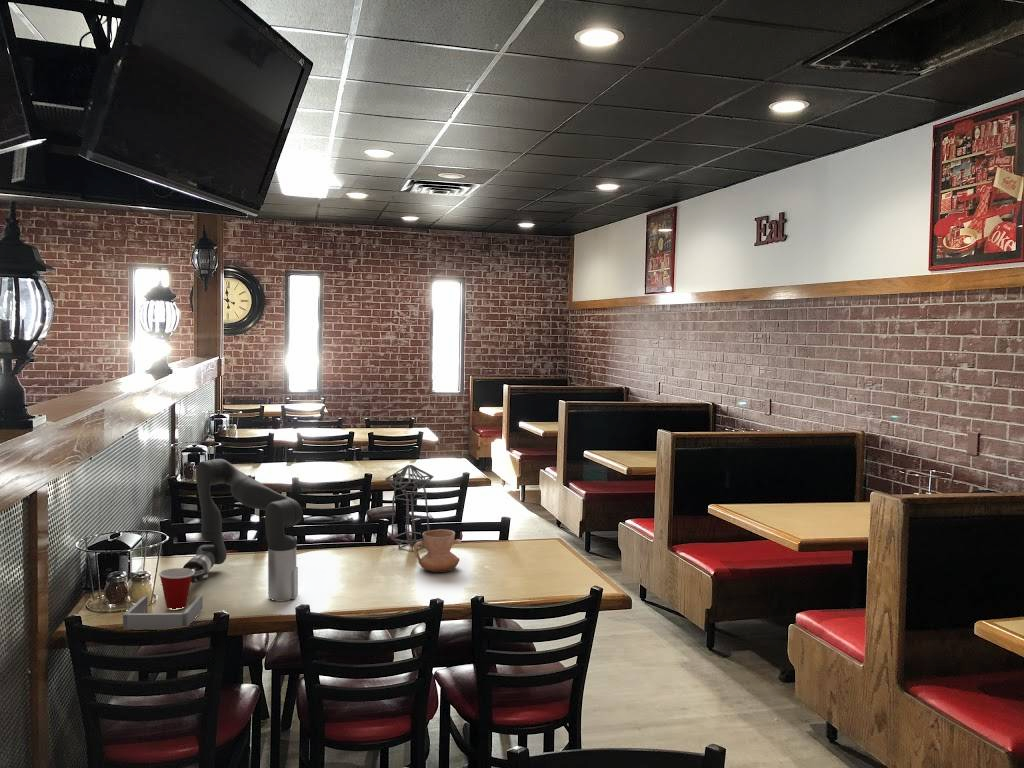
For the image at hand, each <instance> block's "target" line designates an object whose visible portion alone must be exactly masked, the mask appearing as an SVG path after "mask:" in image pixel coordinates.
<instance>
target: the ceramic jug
mask: <svg viewBox="0 0 1024 768" xmlns="http://www.w3.org/2000/svg"><path fill="white" fill-rule="evenodd" d="M422 533H423V535H422V537H423V538H422V539H424V540H421V541H418V542H416V544H415V543H414V544H415V545H413V546H414V547H413V550H414V551H413V554H414V555H415V557H416V559H417V561H418V564H419V565H420V567H421V568H423V570H425V571H428V572H432V573H445V572H449V571H452V570H454V569H455V568H456V567H457V566H458V564H459V562H460V558H459V557H457V555H455V554H454V553H452V552H451V550H452V547H453V546H454V545H455V544H462V540H461V539H459V538H458V539H455V537H456V532H455V531H454V530H450V529H434V530H433V529H432V530H431V529H430V531H428V530H426V531H423V532H422ZM422 541H424V542H422ZM419 545H422V546H421V547H423V546H424V548H425V549H426V550H427V553H426V554H424V555H423V556H422V557H420V554H419V552H418V551H419V550H417V549H419V548H418V547H420V546H419Z"/></svg>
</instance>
